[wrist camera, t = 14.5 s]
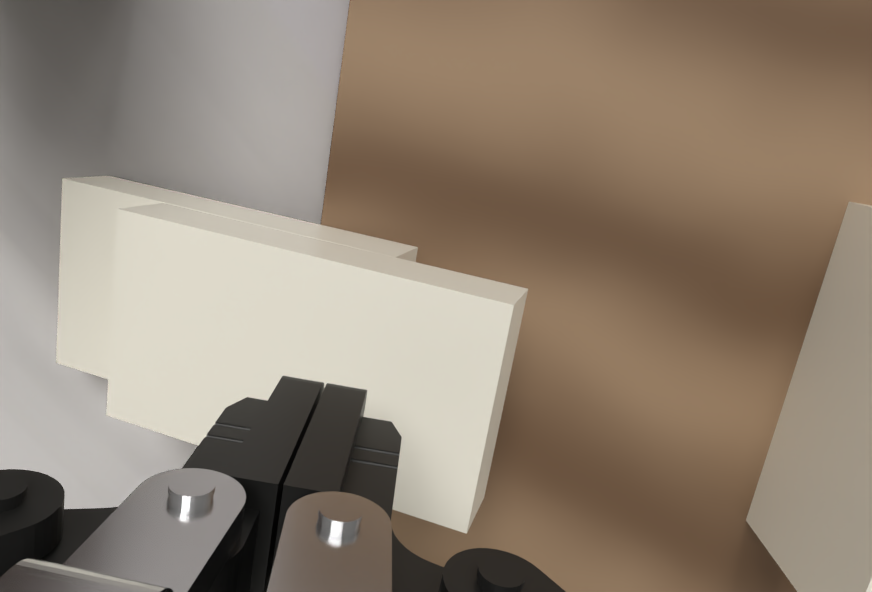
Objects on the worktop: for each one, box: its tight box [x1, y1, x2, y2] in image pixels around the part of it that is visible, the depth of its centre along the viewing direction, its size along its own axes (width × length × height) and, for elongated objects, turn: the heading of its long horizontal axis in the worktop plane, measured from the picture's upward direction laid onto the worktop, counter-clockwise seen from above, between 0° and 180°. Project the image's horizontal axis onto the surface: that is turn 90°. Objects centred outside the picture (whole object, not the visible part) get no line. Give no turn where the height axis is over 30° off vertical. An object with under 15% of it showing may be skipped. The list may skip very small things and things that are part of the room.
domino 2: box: [106, 203, 528, 534], centre depth 16 cm, size 2×5×9 cm
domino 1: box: [56, 176, 418, 379], centre depth 18 cm, size 2×5×9 cm
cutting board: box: [321, 0, 872, 592], centre depth 19 cm, size 20×27×2 cm
